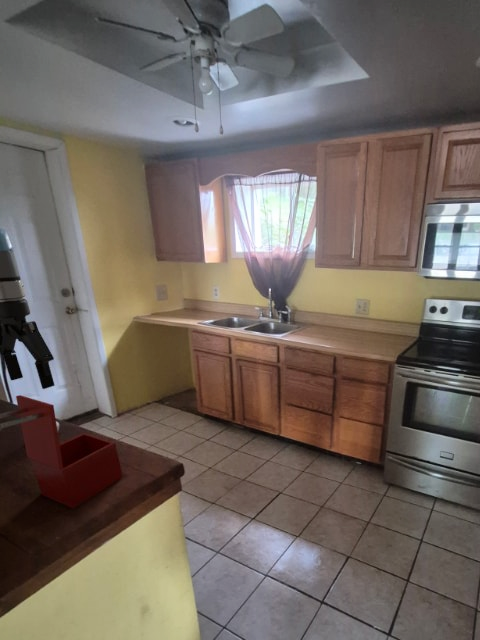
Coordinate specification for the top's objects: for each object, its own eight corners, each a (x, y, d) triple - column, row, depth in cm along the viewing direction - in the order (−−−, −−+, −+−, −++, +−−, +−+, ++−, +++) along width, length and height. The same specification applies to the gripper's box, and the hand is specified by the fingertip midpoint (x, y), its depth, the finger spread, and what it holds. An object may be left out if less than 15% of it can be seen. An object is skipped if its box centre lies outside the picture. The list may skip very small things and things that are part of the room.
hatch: (20, 395, 73) (-41, 408, 64) (53, 404, 69) (-7, 420, 60) (31, 455, 77) (-25, 475, 68) (63, 468, 73) (7, 491, 64)
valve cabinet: (93, 467, 91) (84, 432, 87) (123, 478, 87) (115, 442, 83) (42, 496, 81) (29, 458, 77) (73, 510, 77) (61, 470, 73)
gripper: (55, 301, 86) (77, 386, 94) (-5, 294, 96) (19, 371, 105) (21, 305, 80) (47, 396, 88) (-40, 297, 90) (-11, 379, 98)
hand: (32, 382), depth 96 cm, fingers open, 13 cm apart
